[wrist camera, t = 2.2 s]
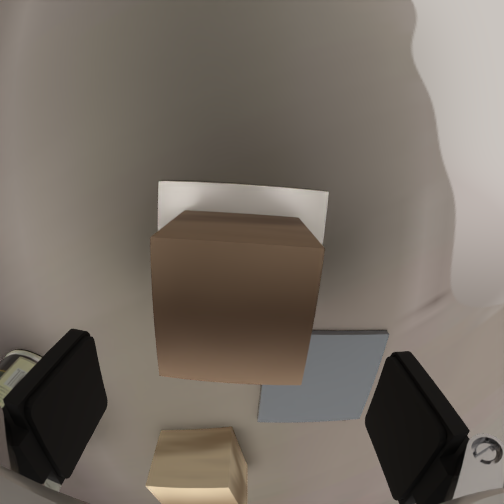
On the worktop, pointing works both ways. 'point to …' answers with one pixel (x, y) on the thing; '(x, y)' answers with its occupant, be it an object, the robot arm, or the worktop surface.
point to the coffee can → (10, 373)
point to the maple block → (198, 467)
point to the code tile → (243, 201)
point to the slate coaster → (328, 379)
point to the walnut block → (234, 297)
